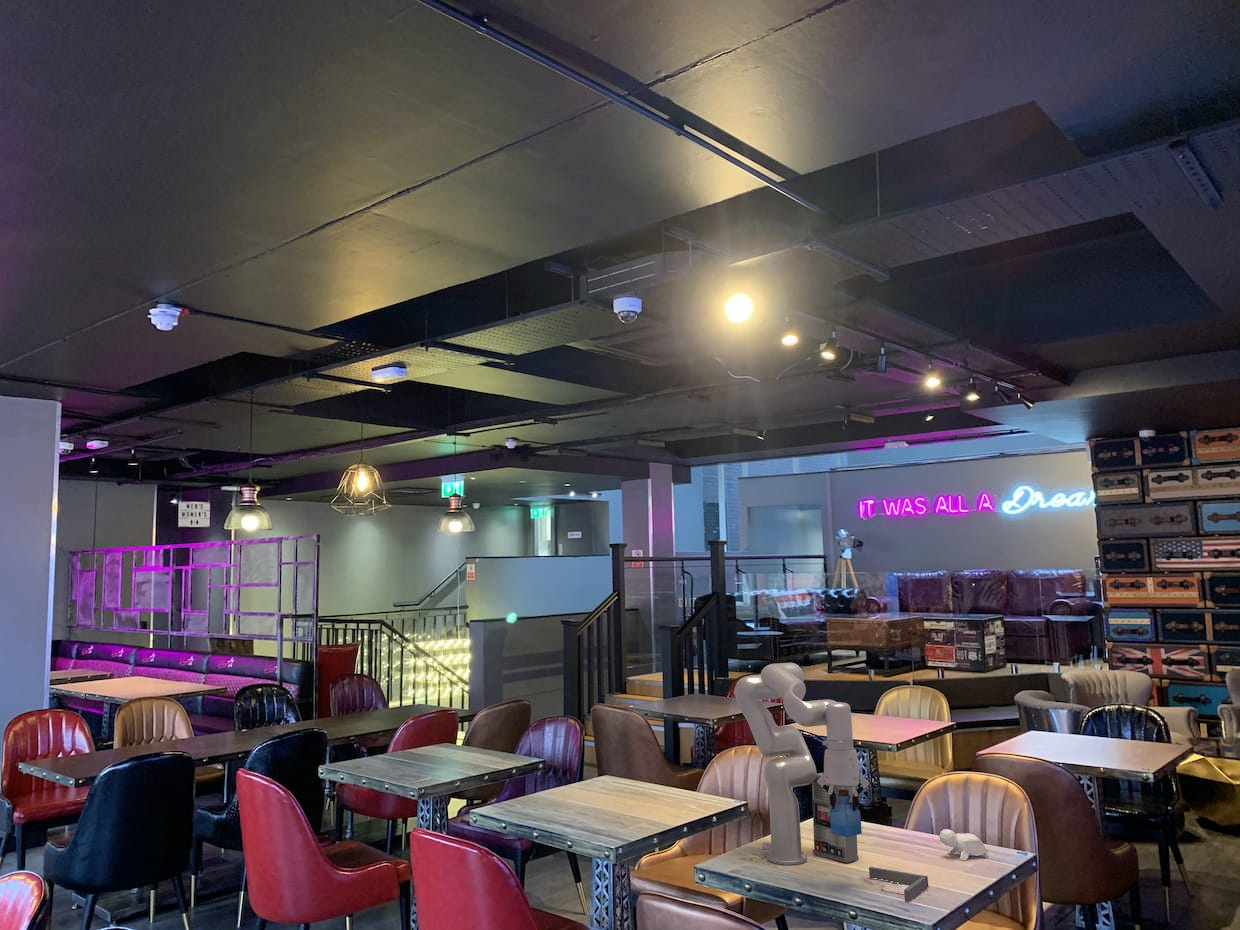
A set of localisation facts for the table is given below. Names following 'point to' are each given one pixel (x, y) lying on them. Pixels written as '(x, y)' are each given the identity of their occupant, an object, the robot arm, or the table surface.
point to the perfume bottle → (845, 817)
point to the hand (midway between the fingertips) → (844, 808)
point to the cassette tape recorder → (823, 837)
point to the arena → (902, 881)
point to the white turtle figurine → (963, 844)
